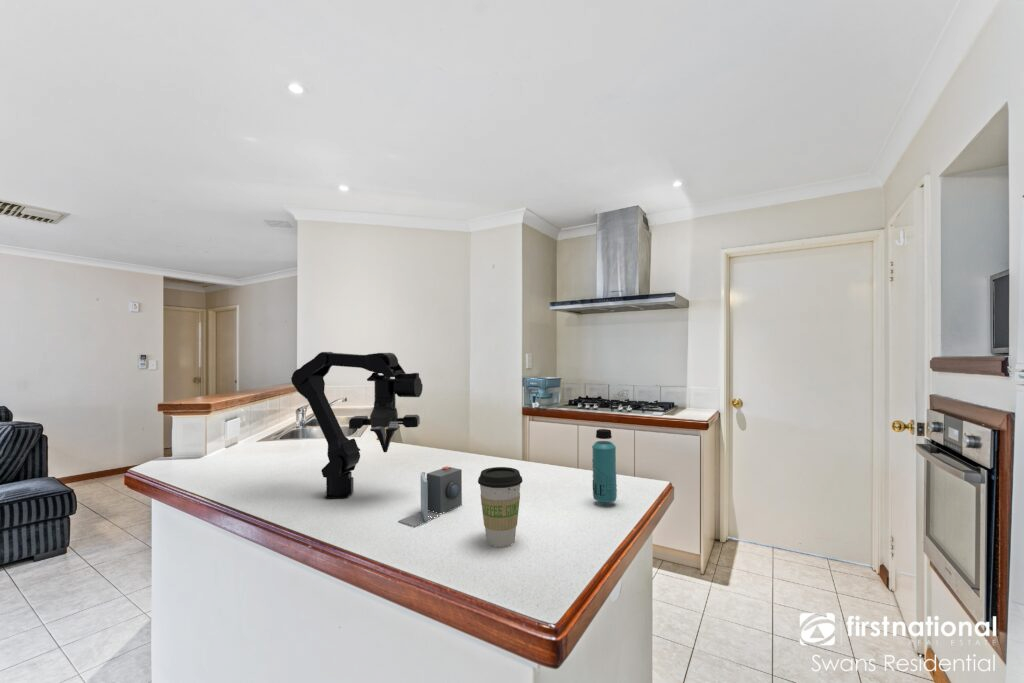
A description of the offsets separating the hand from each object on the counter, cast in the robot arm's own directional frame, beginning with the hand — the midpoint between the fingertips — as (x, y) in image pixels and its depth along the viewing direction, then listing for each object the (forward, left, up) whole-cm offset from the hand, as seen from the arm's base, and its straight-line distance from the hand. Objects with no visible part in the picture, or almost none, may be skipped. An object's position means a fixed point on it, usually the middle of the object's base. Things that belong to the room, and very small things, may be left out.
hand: (385, 452), depth 127 cm
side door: (+13, -15, -12) cm, 23 cm away
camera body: (+15, -13, -13) cm, 24 cm away
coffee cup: (+31, -31, -13) cm, 46 cm away
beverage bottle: (+60, -11, -13) cm, 62 cm away
